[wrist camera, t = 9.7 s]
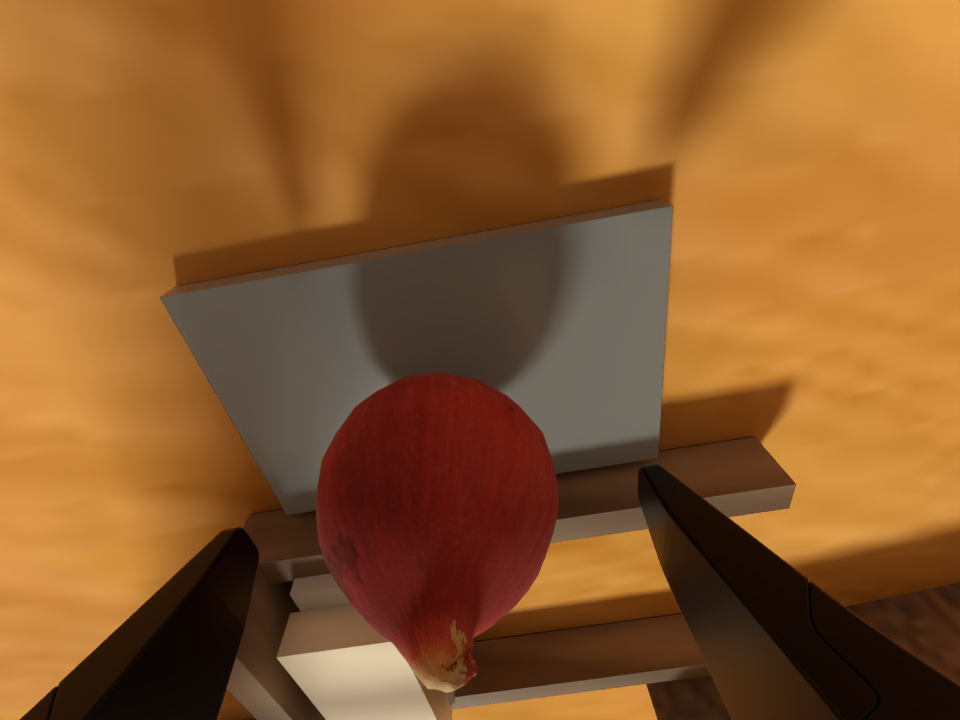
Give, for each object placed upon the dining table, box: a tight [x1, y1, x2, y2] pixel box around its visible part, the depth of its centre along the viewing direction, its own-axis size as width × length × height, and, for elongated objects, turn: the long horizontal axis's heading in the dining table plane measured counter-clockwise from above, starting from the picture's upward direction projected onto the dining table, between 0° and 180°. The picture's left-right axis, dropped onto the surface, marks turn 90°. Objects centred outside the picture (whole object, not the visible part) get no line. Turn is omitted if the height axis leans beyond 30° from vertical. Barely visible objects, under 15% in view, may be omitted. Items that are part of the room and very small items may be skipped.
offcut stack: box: [276, 573, 455, 720], centre depth 19 cm, size 11×4×4 cm, turn 9°
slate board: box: [160, 200, 673, 515], centre depth 15 cm, size 9×14×1 cm, turn 99°
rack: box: [227, 437, 796, 720], centre depth 19 cm, size 13×20×5 cm, turn 99°
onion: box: [316, 372, 559, 693], centre depth 11 cm, size 6×6×8 cm
